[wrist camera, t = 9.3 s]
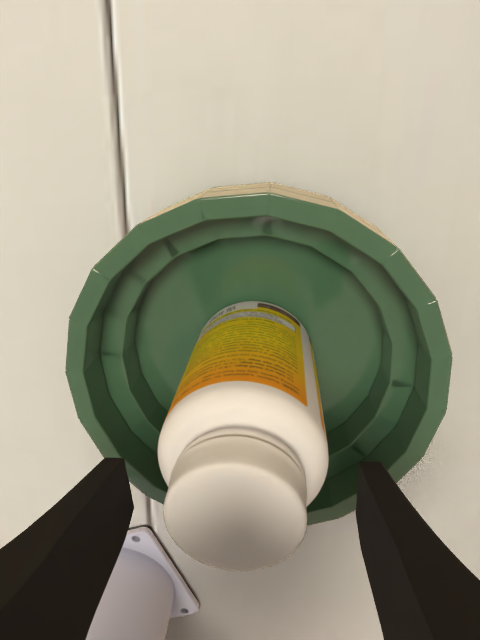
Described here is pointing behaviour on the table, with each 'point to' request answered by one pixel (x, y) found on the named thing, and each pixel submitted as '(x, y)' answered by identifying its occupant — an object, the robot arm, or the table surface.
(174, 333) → the bowl
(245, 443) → the supplement bottle
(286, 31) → the table surface
